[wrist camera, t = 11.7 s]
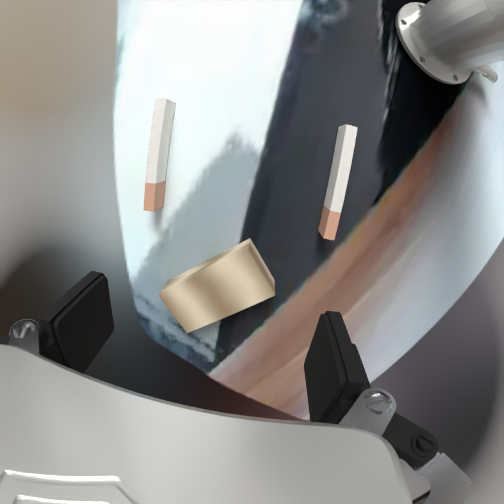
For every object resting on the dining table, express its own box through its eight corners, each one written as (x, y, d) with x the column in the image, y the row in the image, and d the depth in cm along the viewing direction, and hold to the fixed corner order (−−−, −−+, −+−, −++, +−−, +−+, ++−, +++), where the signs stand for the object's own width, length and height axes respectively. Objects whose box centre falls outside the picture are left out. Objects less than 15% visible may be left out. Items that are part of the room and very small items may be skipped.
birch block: (250, 237, 31) (248, 249, 28) (274, 278, 33) (275, 295, 29) (168, 280, 34) (158, 295, 30) (194, 315, 36) (187, 333, 32)
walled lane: (348, 129, 26) (357, 127, 23) (327, 232, 30) (334, 240, 28) (165, 103, 26) (156, 98, 23) (154, 204, 30) (143, 210, 27)
